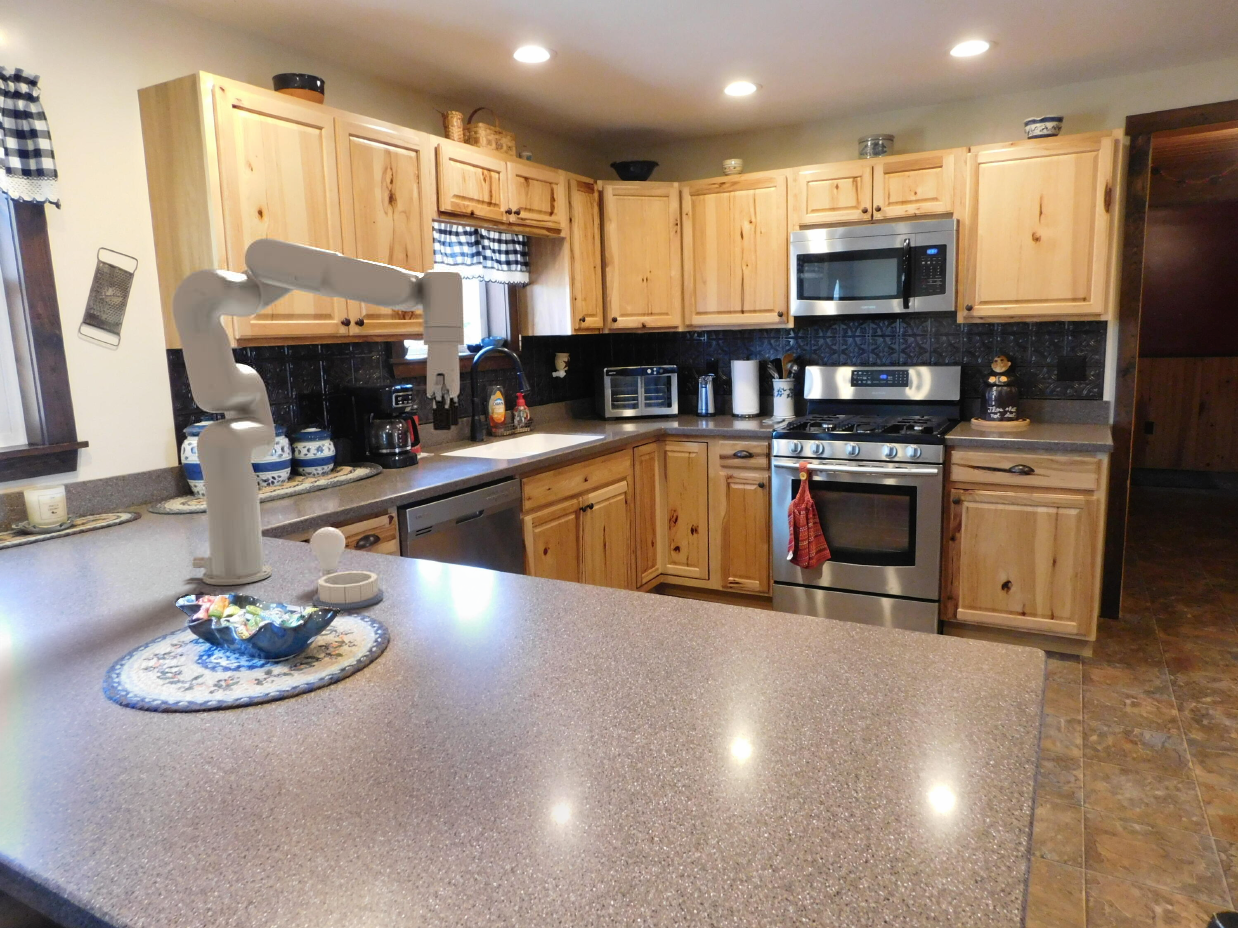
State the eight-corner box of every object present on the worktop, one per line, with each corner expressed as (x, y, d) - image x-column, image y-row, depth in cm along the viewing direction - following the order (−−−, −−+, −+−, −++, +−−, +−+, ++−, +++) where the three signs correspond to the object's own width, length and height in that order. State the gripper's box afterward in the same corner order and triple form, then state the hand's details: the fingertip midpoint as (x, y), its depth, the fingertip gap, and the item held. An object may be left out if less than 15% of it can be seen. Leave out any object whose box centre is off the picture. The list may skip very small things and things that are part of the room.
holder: (301, 609, 142) (300, 587, 141) (329, 590, 153) (328, 569, 153) (369, 610, 141) (368, 588, 140) (392, 590, 153) (391, 570, 152)
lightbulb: (352, 578, 161) (350, 524, 160) (338, 587, 155) (335, 531, 154) (322, 577, 162) (319, 523, 160) (306, 586, 156) (303, 530, 154)
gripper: (431, 338, 162) (434, 424, 164) (414, 336, 145) (418, 432, 147) (469, 338, 162) (472, 423, 165) (457, 336, 145) (459, 431, 148)
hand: (446, 427), depth 156 cm, fingers open, 9 cm apart
